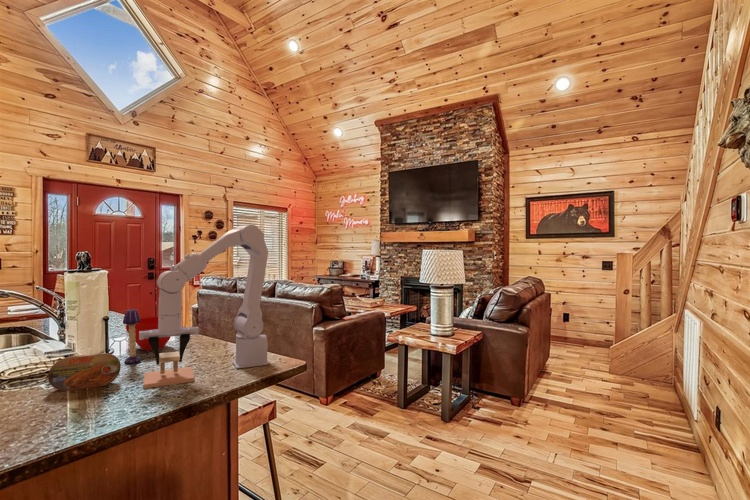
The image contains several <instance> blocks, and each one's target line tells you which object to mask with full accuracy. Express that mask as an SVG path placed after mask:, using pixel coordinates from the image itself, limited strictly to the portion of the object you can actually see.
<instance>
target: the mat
mask: <svg viewBox="0 0 750 500" xmlns="http://www.w3.org/2000/svg"><path fill="white" fill-rule="evenodd" d="M143 376H144V377H143V384H142V386H143V387H142V388H143V389H150V388H155V387H164V386H170V385H176V384H182V383H183V384H185V383H193V382H195V375H194V371H193V367H192V366H188V367H180V368H179V367H178V372H174V369H173V368H172V369H170V368H169V369H165V374H160V370H155V371H148V372H144V375H143Z"/></svg>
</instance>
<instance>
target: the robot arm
mask: <svg viewBox="0 0 750 500" xmlns="http://www.w3.org/2000/svg"><path fill="white" fill-rule="evenodd" d="M238 246H240V247H241V248H243V249H244V251H245V252H246V253H247V254H248V255H249V256H250V257H249V263H248V267H247V268H248V270H247V274H246V281H245V287H244V292H243V293H244V294H243V297H242V298H243V300H242V304H241V306H240V307H239V309H238V312H237V315H236V317H235V318H234V320H233V327H234V330H236V334H235V359H232V360H231V361H232V363H233V365H234V366H235V368H236V369H246V368H251V367H258V366H267V365H268V364H269V363H268V337H267V335H266V334H262V332H263V329H264V321H263V312H262V310H261V302H262V295H263V294H262V293H263V288H264V281H265V276H266V275H265V274H266V271H267V270H266V269H267V262H268V258H269V249H268V246H267V244H266V241H265V233H264V232H263V231H262V230H261V229H260V228H259V227H258V226H257V225H255V224H248V225H237V226H235V227H234V228H233V229H230V230H229V231H227V232H225V233H224V234H222V235H221V236H220V237H219V238H218V239H216V240H215V241H214V242H213V243H211V244H210V245H209V246H207V247H206V248H205V249H203V250H202V251H201V252H199V253H195V252H192V253H191V254H189V253H187V254H185V255H184V256H183V259H182V260H181V261H179V262H178V263H177V264H175V265H171V266H169V270H166V271H163V272H161V273H160V275H158V278H157V280H156V285H157V287H158V288H159V291H158V296H159V297H158V314H157V315H158V316H157V317H158V329H155V330H148V331H140V332H139V340H143V339H149V341H148V342H149V344H150V346H151V348H152V350H151V351H152V352H153V354H154V357H155V364H156V365H157V366H159V365H160V363H159V353H160V349H159V338H160V337H170V338H171V337H179V350H178V351H179V354H180V361H178V363H182V362H183V356H184V354H185V350H186V348H187V346H188V344H189V342H190V340H191V336H193V335H194V336H196V335H197V336H198V335H199V333H200V329H199V326H182V324H183V323H182V315H183V313H182V310H183V309H182V308H183V307H182V304H183V297H182V296H183V295H182V294H183V293H182V291H183V289H184V288H185V286H186V283H188V282H190V281H191V280H192V279H194V278H195V277H196V276H198V275H199V274H200V273H202V272H203V271H205V270H206V269H207V265H208V263H209V261H211V260H212V259H214V258H215V257H217V256H218V255H220V254H221V253H223V252H224V251H225V250H227V249H229V248H230V247H231V248H232V247H238Z"/></svg>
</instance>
